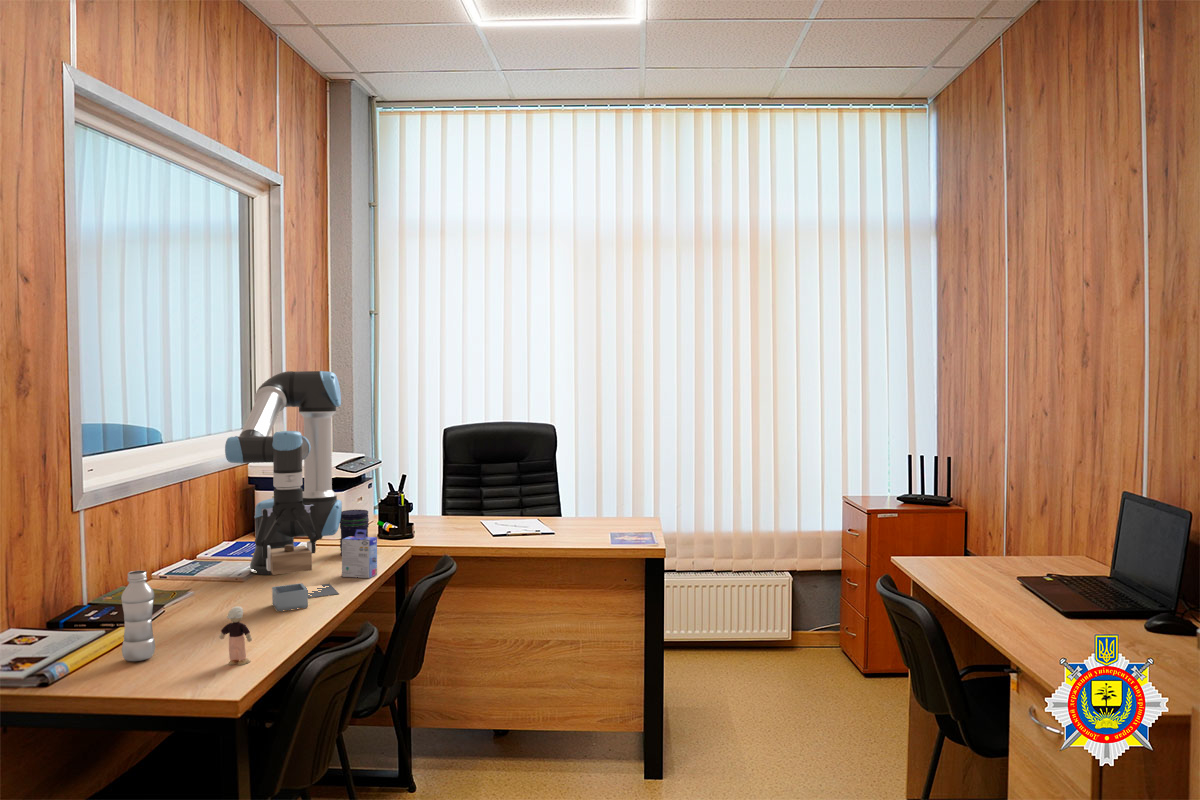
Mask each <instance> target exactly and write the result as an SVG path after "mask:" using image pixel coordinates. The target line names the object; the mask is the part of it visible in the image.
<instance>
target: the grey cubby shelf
mask: <svg viewBox="0 0 1200 800" xmlns="http://www.w3.org/2000/svg"><path fill="white" fill-rule="evenodd" d="M271 590H272V591H271V593H272V594H271V595H272V597H271V598H272V604H273V605H272V606H273V608H274V607H275V608H274V609H276V610H277V611H281V612H284V611H283V610H289V611H292V610H291V609H296V610H298V609H297V608H303V609H307V608H306V607H308V608H309V605H308V604H309V598H308V590H307V588H306V586H305V585H304V583H303V582H301V583H293V584H284V585H277V586H271ZM276 610H275V611H276ZM277 611H276V612H277Z"/></svg>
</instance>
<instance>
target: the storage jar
mask: <svg viewBox="0 0 1200 800" xmlns="http://www.w3.org/2000/svg"><path fill="white" fill-rule="evenodd" d="M369 525H370V524H369V510H366V509H347V510H342V512H341V519H340V524H339V529H340V540H339V542H340V544H339V548H340V556H341V555H342V539H344V538H346V537H350V536H352V537H354V536H355V533H356V530H357V529H358V530H367V532H366V537H369V529H368V528H369ZM357 534H364V532H358V533H357Z"/></svg>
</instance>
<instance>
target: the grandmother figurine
mask: <svg viewBox="0 0 1200 800" xmlns="http://www.w3.org/2000/svg"><path fill="white" fill-rule="evenodd" d="M243 614H244V609H243V608H242V606H234V607H231V609H230V610H229V611H228V613H227V615H226V617H227V619H228V620H230V621H231V622H229V623H227V624H226V625H225V626H224V627H222V629H221V630H220V635H219V637H218V638H219V639H220V640H223V639H225V636H226V634H227V635H228V634H229V635H228V636H229V637H228V639H229V640H228V652H229V660H230V661H228V665H229V666H231V665H233V666H234V665H236V664H237V665H239V666H243V665H244V666H245V665H246V664H249V663H250V662H251V660H250V659H249V658H248V657H247V653H246V641H247V642H250V643H251V642H252V640H253V638H252V636H251V631H250V629H249V628H248V626H247V625H246V624H245V623H243V622H241V621H242V620H243ZM245 638H246V640H245Z"/></svg>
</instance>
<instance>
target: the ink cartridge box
mask: <svg viewBox="0 0 1200 800" xmlns="http://www.w3.org/2000/svg"><path fill="white" fill-rule="evenodd" d="M358 532H364V534H357V533H358ZM366 532H367V530H358V529H357V530H356V533H355V536H354V537H352V536H350V537H346V538H344V539H342V556H341V577H343V578H357V577H358V578H360V579H370V578H372V577H373V578H374V577H376V576H378V538H377V536H368V537H366Z"/></svg>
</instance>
